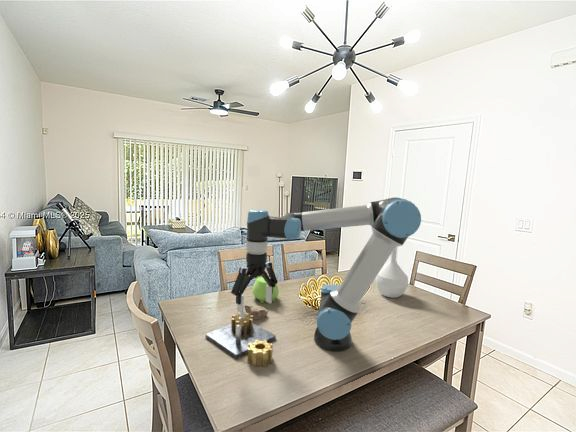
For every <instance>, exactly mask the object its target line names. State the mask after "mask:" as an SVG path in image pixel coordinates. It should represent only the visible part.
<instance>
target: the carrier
mask: <svg viewBox="0 0 576 432" xmlns="http://www.w3.org/2000/svg"><path fill="white" fill-rule="evenodd" d="M231 316H232V317H231V321H230V322H231V323H230V324H227V325H225V326H222V327H220V328H217V329H215V330H212V331H210V332H207V333H205V338H206V340H208V341H210V342H212V344H215V345H216V346H217V347H219V348H220V349H222V350H223V351H224V352H226V353H227V354H229V356H231V357H233V358H234V359H235V360H237V359H238V358H239V359H240V358H241V357H242V356H244V355H247V351H248V344H249V343H254V342H255V340H258V341H264V340H267V343H269V344H270V343H272V341H274V340H276V338H277V337H276V334H274V333H272V332H270V331H268V330H266V329H264V328H262V327H261V326H259V325H257V324H255V323H254V319H253V315H249V313H247V312H246V311H243V313H240V312H238V313H237V314H232V315H231Z"/></svg>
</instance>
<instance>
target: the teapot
mask: <svg viewBox="0 0 576 432" xmlns="http://www.w3.org/2000/svg"><path fill="white" fill-rule="evenodd" d="M269 278H270V277H269ZM266 285H268V284H267V282H266V281H265V280H264V278H263V277H262V276H260V277H259V276H258V277H256V280H255V282H254V284H253V287H252V294H253V296H254V297H255V299H256V300H259V302H260V304H262V303H263V304H264V303H266ZM275 285H276V286H275V287H273V294H272V302H274V301H276V299H277V297H278V296H279V287H278V283H277V284H275Z"/></svg>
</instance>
